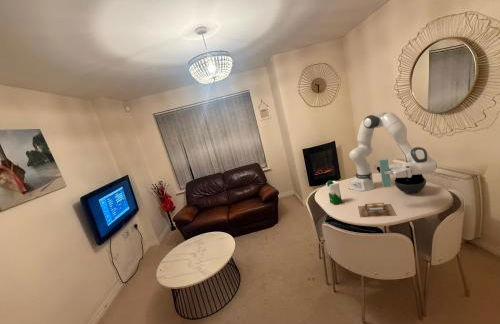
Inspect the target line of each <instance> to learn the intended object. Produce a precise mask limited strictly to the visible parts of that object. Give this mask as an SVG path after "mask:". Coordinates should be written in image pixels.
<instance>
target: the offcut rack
mask: <svg viewBox="0 0 500 324" xmlns="http://www.w3.org/2000/svg"><path fill="white" fill-rule="evenodd" d="M370 204H383V205H384V208H383V210H380V211H370V209H368V208H367V205H370ZM357 209H358V213H359V218H375V217H376V218H377V217H380V218H381V217H397V216H398V215H397V213H396V211H395V209H394V207H393V206H392V204H391V203H386V204H384V202H375V203H374V202H372V203H364V205H358V206H357Z"/></svg>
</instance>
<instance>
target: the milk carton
mask: <svg viewBox="0 0 500 324" xmlns="http://www.w3.org/2000/svg"><path fill="white" fill-rule="evenodd" d="M325 185H326V187H327V191H328V197H329V198H328V199H329V202H330V204H333V206H336V205H340V204H342V203H343V200H342V194H341V189H340V182H338V181H336V180H327V182H326V183H325Z"/></svg>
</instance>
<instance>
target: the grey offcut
mask: <svg viewBox="0 0 500 324" xmlns="http://www.w3.org/2000/svg"><path fill="white" fill-rule="evenodd" d="M380 210H383V207H381V208H370V211H380Z"/></svg>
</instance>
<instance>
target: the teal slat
mask: <svg viewBox="0 0 500 324" xmlns="http://www.w3.org/2000/svg"><path fill="white" fill-rule="evenodd" d="M378 164H379V170H380V179H381V183H382V188H391V187H392V182H391V174H384V171H389V165H390V164H389V160H388V158H383V159H378Z"/></svg>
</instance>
